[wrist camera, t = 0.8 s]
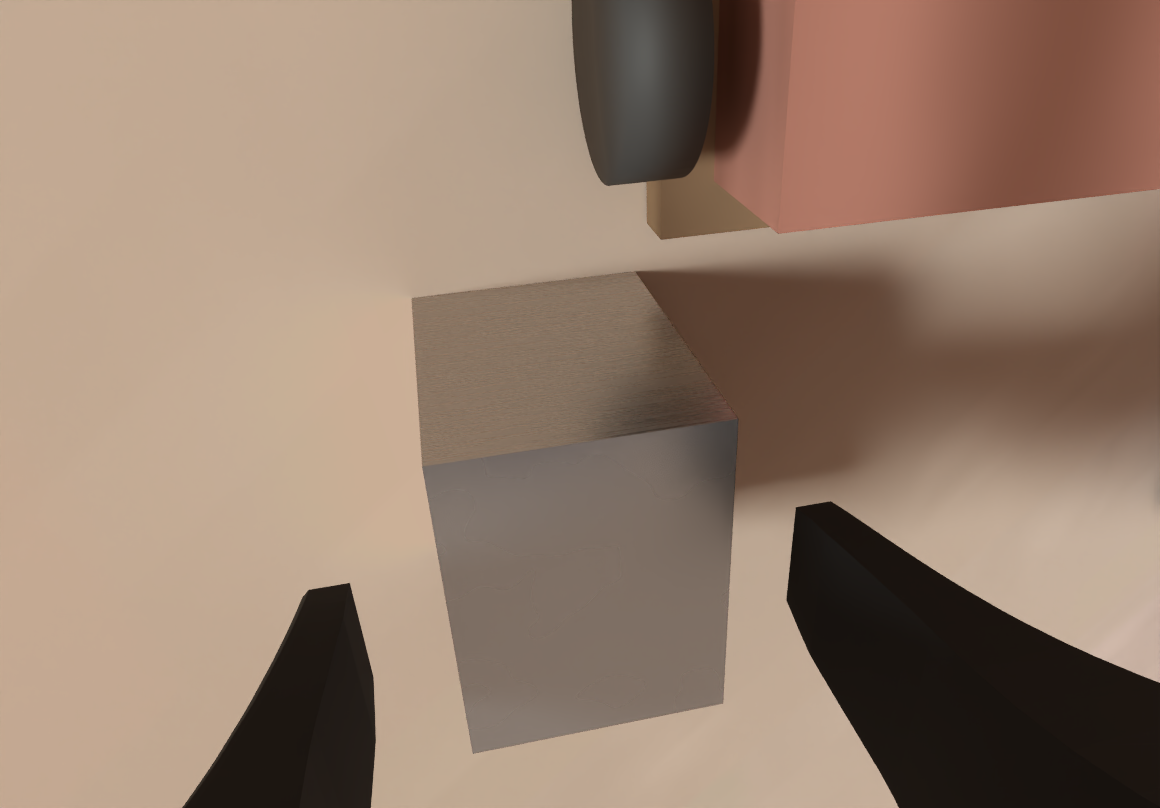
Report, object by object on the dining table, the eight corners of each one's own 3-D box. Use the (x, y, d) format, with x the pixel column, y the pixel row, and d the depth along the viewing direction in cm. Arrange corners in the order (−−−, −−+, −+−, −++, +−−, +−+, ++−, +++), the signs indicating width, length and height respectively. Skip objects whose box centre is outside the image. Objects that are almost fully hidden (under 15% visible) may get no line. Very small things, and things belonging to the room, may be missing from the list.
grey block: (633, 270, 17) (738, 418, 12) (638, 505, 20) (723, 703, 15) (411, 297, 16) (422, 466, 11) (450, 535, 20) (472, 753, 14)
